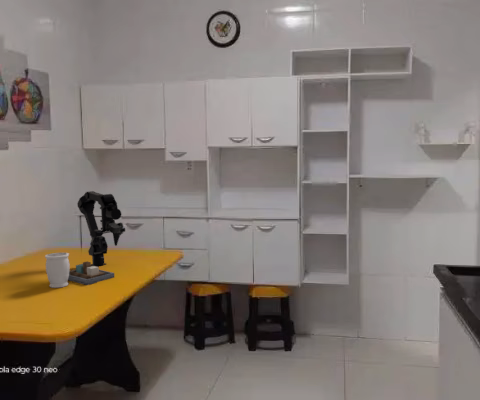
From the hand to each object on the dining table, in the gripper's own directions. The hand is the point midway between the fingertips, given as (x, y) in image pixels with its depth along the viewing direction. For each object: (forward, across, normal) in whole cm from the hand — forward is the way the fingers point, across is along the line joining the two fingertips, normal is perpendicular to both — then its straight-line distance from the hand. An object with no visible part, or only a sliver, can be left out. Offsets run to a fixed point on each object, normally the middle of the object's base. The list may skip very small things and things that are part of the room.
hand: (108, 247), depth 264 cm
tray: (+12, -18, -6) cm, 22 cm away
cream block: (+10, -17, -10) cm, 22 cm away
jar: (+12, -34, -6) cm, 36 cm away
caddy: (+11, -18, -6) cm, 21 cm away
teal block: (+10, -18, -1) cm, 20 cm away
